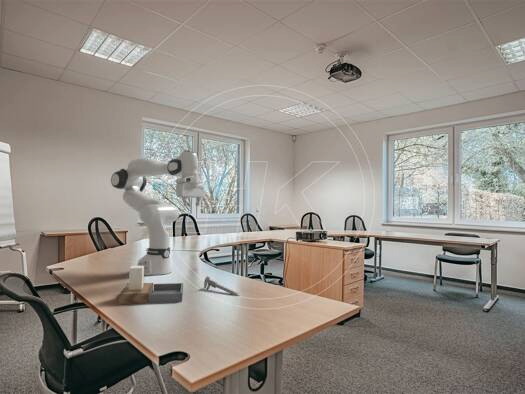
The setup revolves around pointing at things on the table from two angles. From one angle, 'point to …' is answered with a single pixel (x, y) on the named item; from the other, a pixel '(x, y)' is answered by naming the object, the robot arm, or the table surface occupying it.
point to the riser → (136, 294)
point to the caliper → (214, 284)
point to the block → (136, 277)
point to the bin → (166, 293)
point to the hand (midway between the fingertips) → (192, 205)
